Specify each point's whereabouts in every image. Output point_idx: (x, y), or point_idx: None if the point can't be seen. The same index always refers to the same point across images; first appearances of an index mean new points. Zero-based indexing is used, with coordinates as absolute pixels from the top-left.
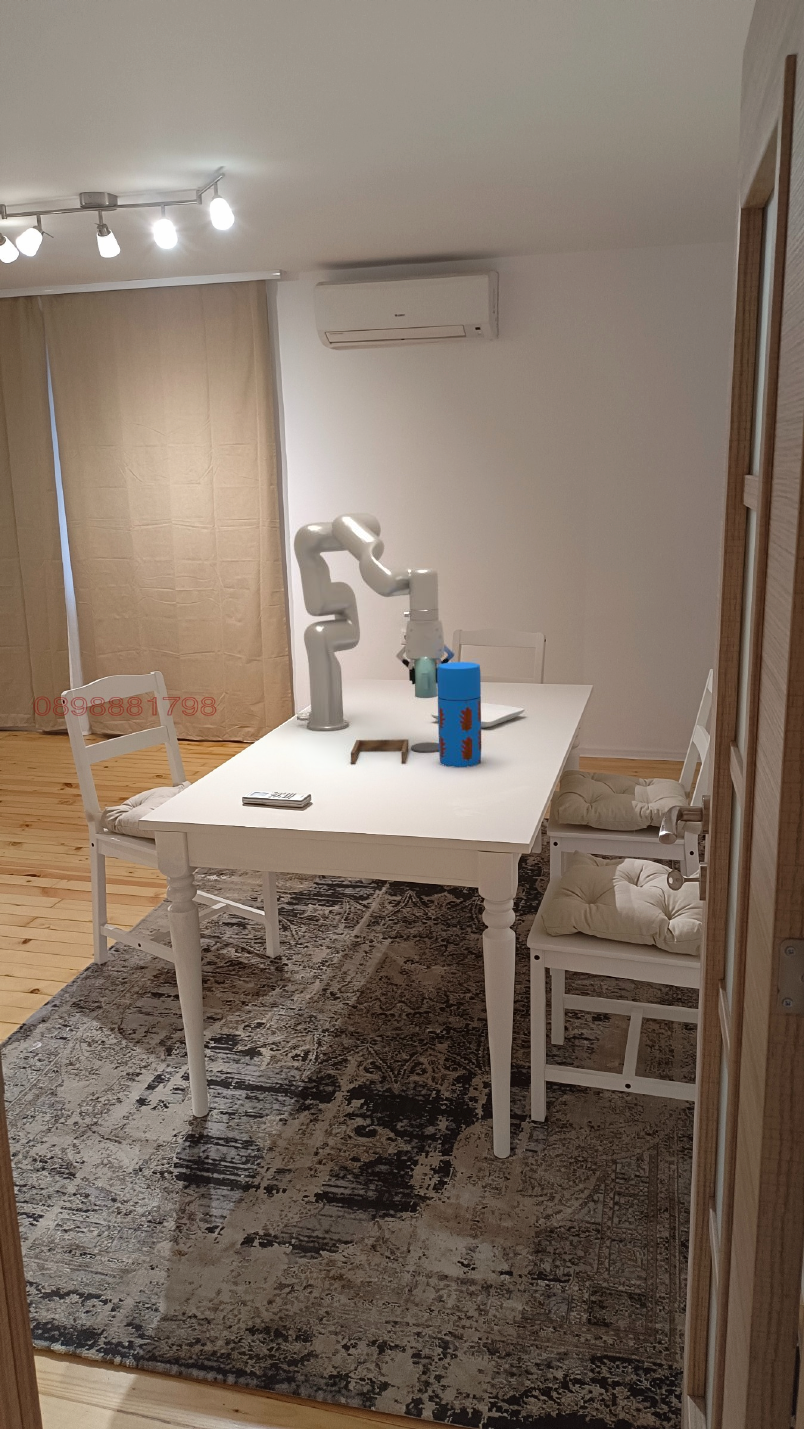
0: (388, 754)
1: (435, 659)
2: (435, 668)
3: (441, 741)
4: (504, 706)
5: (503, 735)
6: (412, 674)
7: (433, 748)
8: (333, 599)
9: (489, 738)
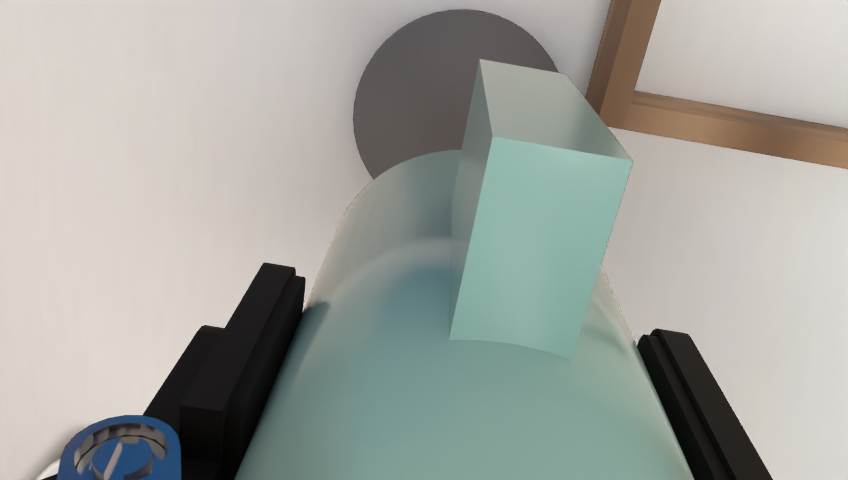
0: (738, 22)
1: None
2: (257, 444)
3: None
4: None
5: (5, 319)
6: (730, 429)
7: (429, 57)
8: None
9: (80, 274)
